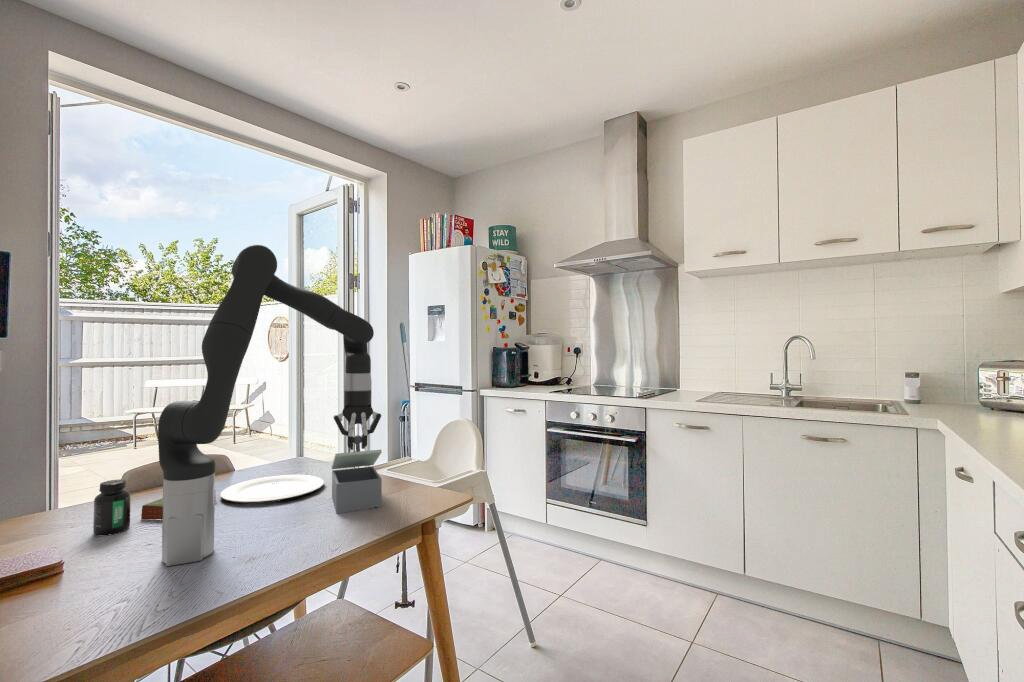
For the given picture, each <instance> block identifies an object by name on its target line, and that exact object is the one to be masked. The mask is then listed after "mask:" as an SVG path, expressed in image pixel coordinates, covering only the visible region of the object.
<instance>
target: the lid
mask: <svg viewBox="0 0 1024 682" xmlns="http://www.w3.org/2000/svg"><path fill="white" fill-rule="evenodd" d="M361 442H362V435H359V434H357V435H354V436H353V445H355V451H349V452H340V453H339V452H338V453H335V454H334V457H333V460H332V464H331V468H330V469H331V470H342V469H351V468H361V467H371V466H374V465H375V464H376V462H377V461H378V458H379V457H380V455H382V449H374V450H373V449H372V450H363V451H362V450H361Z"/></svg>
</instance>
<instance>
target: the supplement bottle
mask: <svg viewBox="0 0 1024 682" xmlns="http://www.w3.org/2000/svg"><path fill="white" fill-rule="evenodd" d="M126 484H127V483H126V479H122V478H121V479H112V480H106V481H103V482H100V483H99V491H98V492H100V493H99V494H98V495H97V496H95V497H94V500H93V531H92V533H93V535H94V536H97V535H98V537H100V536H99V535H106V536H110V535H109V534H112V535H116V534H115V533H117V534H119V532H120V533H123V532H125V531H127V530H128V529H129V528H130V526H131V501H132V500H131V492H130V491H128V490H126V488H127V485H126ZM126 529H127V530H126ZM124 530H125V531H124ZM122 531H123V532H122Z"/></svg>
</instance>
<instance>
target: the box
mask: <svg viewBox="0 0 1024 682" xmlns="http://www.w3.org/2000/svg"><path fill="white" fill-rule="evenodd" d="M331 471H332V472H331V481H332V482H331V498H332V502H333V506H334V510H335V513H336V514H342V513H343V512H344V513H349V512H348V511H351V512H356V511H355V510H358V511H363V510H362V509H365V510H369V509H368V508H372V509H375V508H374V507H379V508H382V487H383V486H382V485H383V484H382V481H383V480H382V477H381V475H379V473H378V471H377V470H376V468H374V465H370V466H361V467H351V468H341V469H332V470H331Z"/></svg>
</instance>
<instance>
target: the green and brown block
mask: <svg viewBox="0 0 1024 682" xmlns="http://www.w3.org/2000/svg"><path fill="white" fill-rule="evenodd" d="M215 499H216V496H215ZM141 519H163V497H162V498H160V499H156V500H154V501H152V502H149V503H145V504H143V505H142V506H141Z"/></svg>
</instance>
